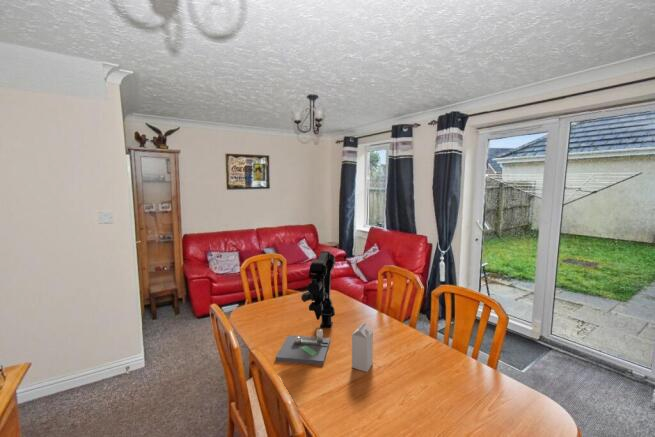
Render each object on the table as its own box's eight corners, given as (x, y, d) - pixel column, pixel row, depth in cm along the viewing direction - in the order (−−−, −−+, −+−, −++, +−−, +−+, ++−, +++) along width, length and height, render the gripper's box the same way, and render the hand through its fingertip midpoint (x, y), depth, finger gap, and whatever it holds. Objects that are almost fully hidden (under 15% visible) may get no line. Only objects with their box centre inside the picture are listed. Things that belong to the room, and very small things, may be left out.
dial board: (288, 339, 155) (288, 335, 155) (330, 342, 152) (330, 337, 151) (275, 361, 136) (275, 356, 135) (323, 365, 132) (323, 360, 132)
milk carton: (351, 368, 130) (351, 326, 128) (357, 359, 136) (357, 319, 134) (367, 372, 127) (367, 329, 124) (372, 363, 133) (372, 322, 131)
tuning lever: (292, 344, 145) (292, 330, 145) (295, 340, 149) (294, 326, 149) (327, 346, 143) (327, 332, 142) (328, 342, 147) (328, 328, 146)
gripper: (306, 280, 159) (307, 308, 161) (297, 293, 141) (298, 324, 143) (327, 281, 158) (328, 309, 159) (321, 294, 139) (321, 326, 141)
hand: (319, 317), depth 151 cm, fingers open, 5 cm apart
